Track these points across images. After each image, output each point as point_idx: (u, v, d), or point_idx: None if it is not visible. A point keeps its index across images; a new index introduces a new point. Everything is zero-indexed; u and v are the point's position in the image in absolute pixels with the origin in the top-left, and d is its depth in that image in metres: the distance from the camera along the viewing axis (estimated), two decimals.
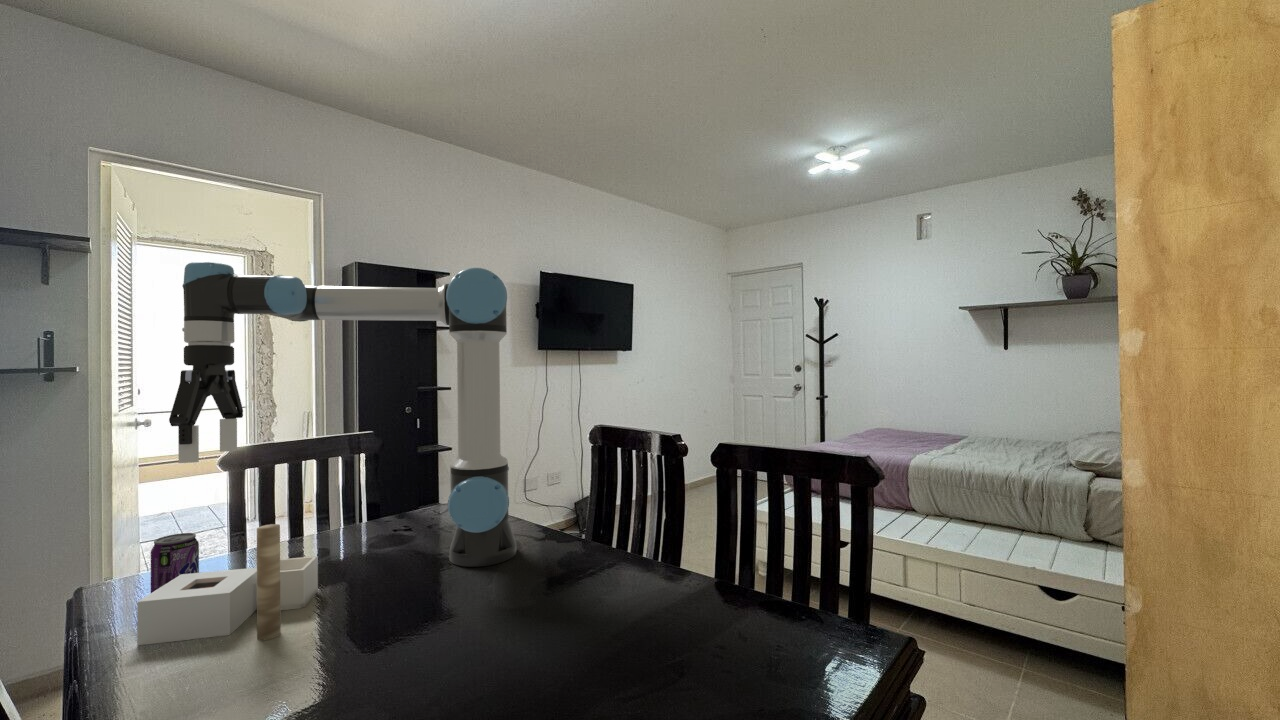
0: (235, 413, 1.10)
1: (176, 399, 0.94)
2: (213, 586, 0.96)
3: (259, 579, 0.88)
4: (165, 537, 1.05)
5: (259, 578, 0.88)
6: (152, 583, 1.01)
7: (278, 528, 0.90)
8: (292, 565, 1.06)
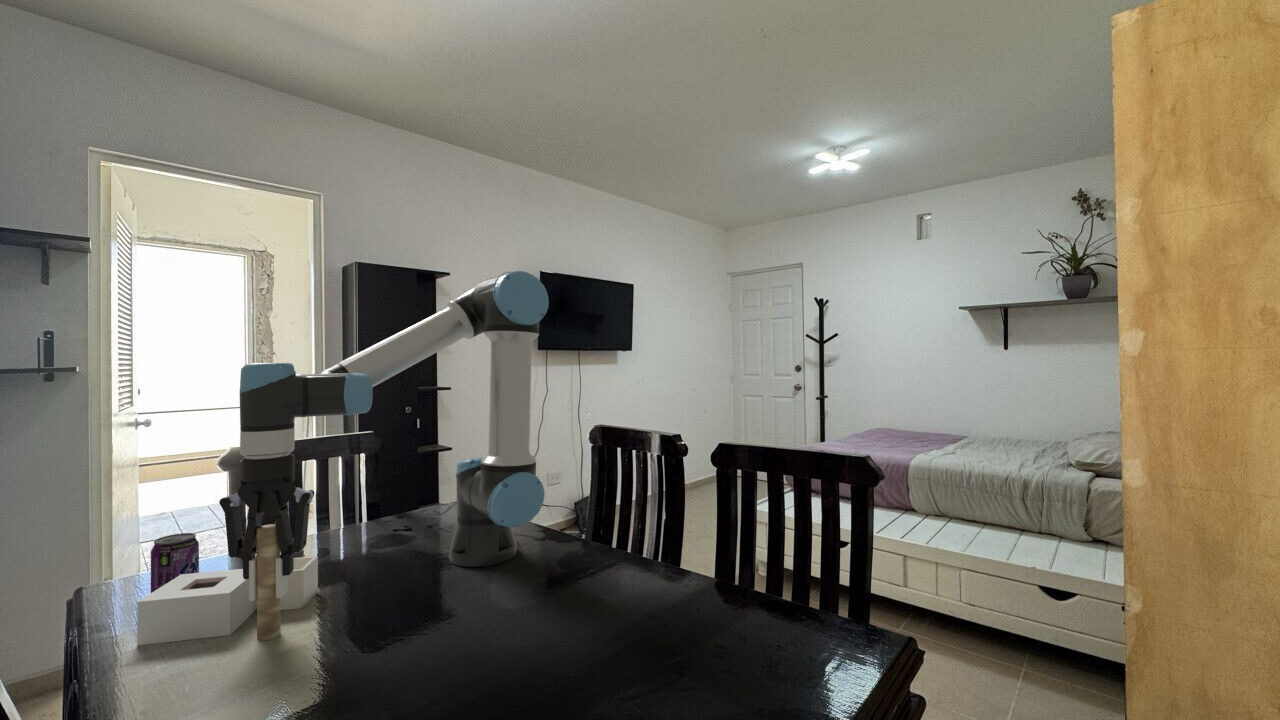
0: (281, 549, 0.89)
1: None
2: (213, 586, 0.96)
3: (259, 579, 0.88)
4: (165, 537, 1.05)
5: (259, 578, 0.88)
6: (152, 583, 1.01)
7: None
8: None
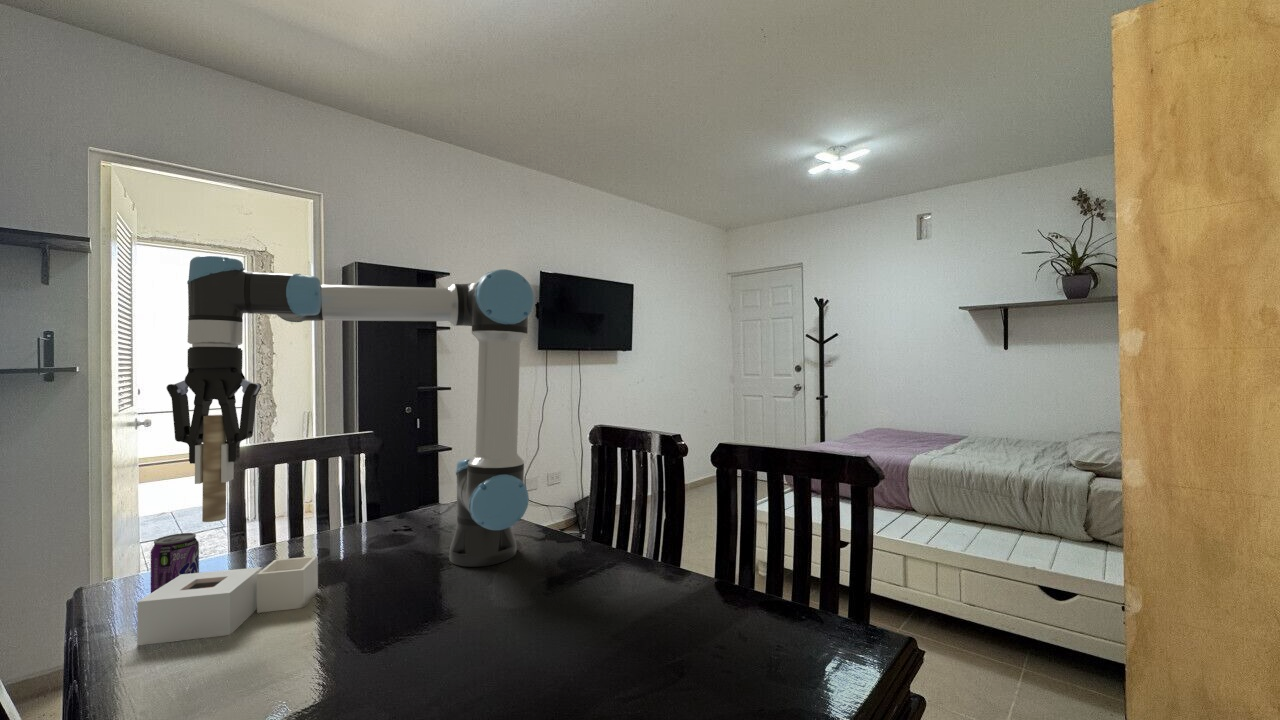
0: (227, 436, 0.93)
1: None
2: (213, 586, 0.96)
3: (205, 463, 0.92)
4: (165, 537, 1.05)
5: (205, 462, 0.92)
6: (152, 583, 1.01)
7: None
8: (292, 565, 1.06)
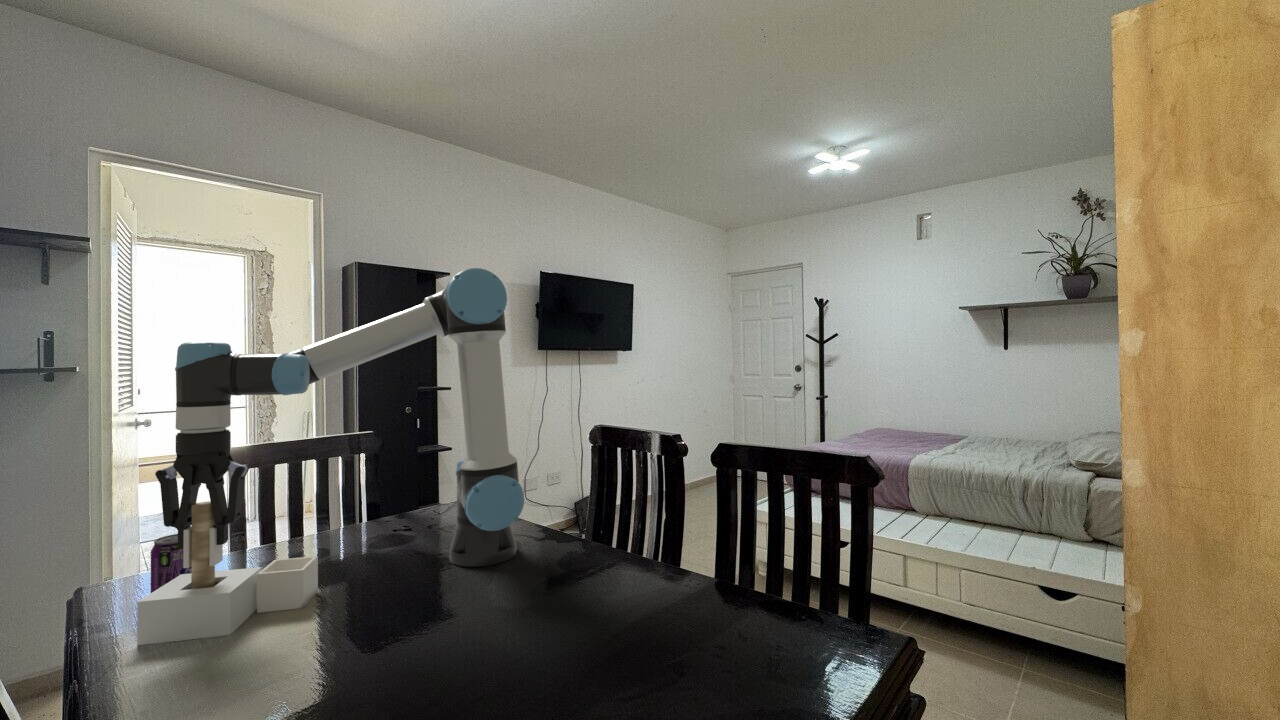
0: (215, 519, 0.94)
1: None
2: None
3: (193, 553, 0.93)
4: (165, 537, 1.05)
5: (193, 551, 0.93)
6: (152, 583, 1.01)
7: None
8: (292, 565, 1.06)
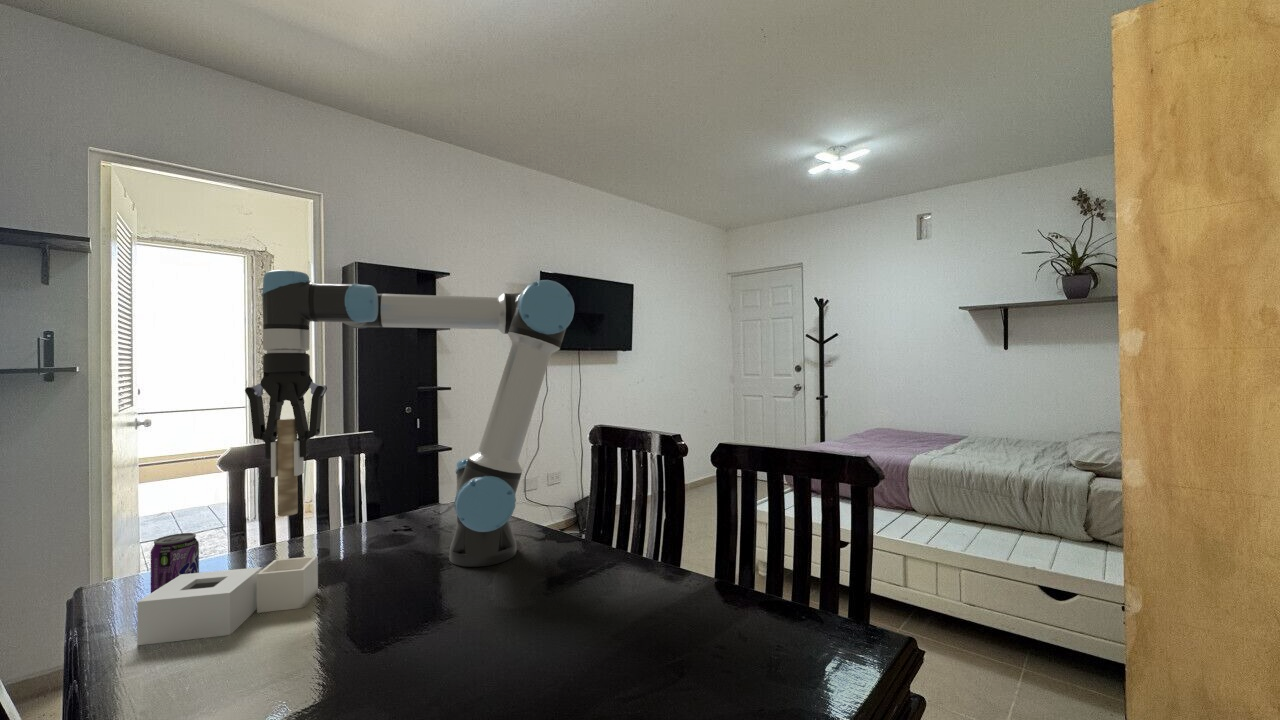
0: (299, 433, 1.03)
1: None
2: None
3: (279, 463, 1.02)
4: (165, 537, 1.05)
5: (280, 462, 1.01)
6: (152, 583, 1.01)
7: None
8: (292, 565, 1.06)
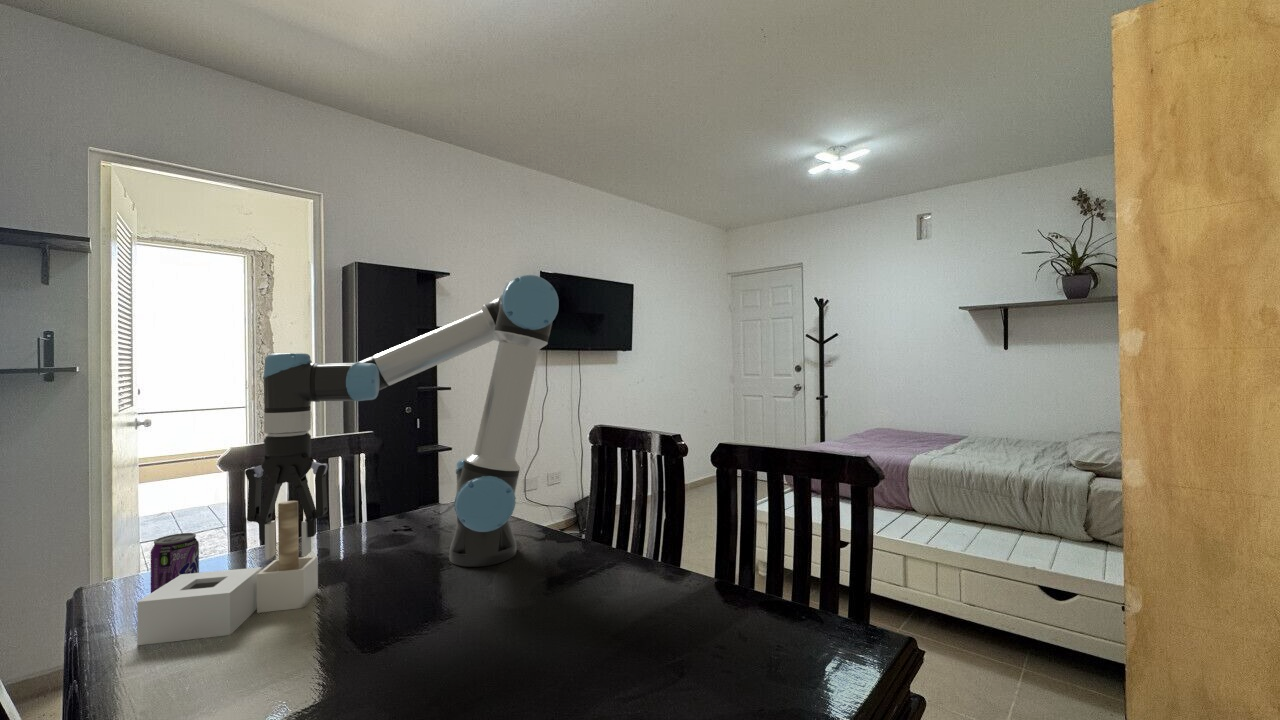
0: (306, 514, 1.03)
1: None
2: None
3: (280, 548, 1.01)
4: (165, 537, 1.05)
5: (281, 547, 1.01)
6: (152, 583, 1.01)
7: (297, 504, 1.03)
8: None
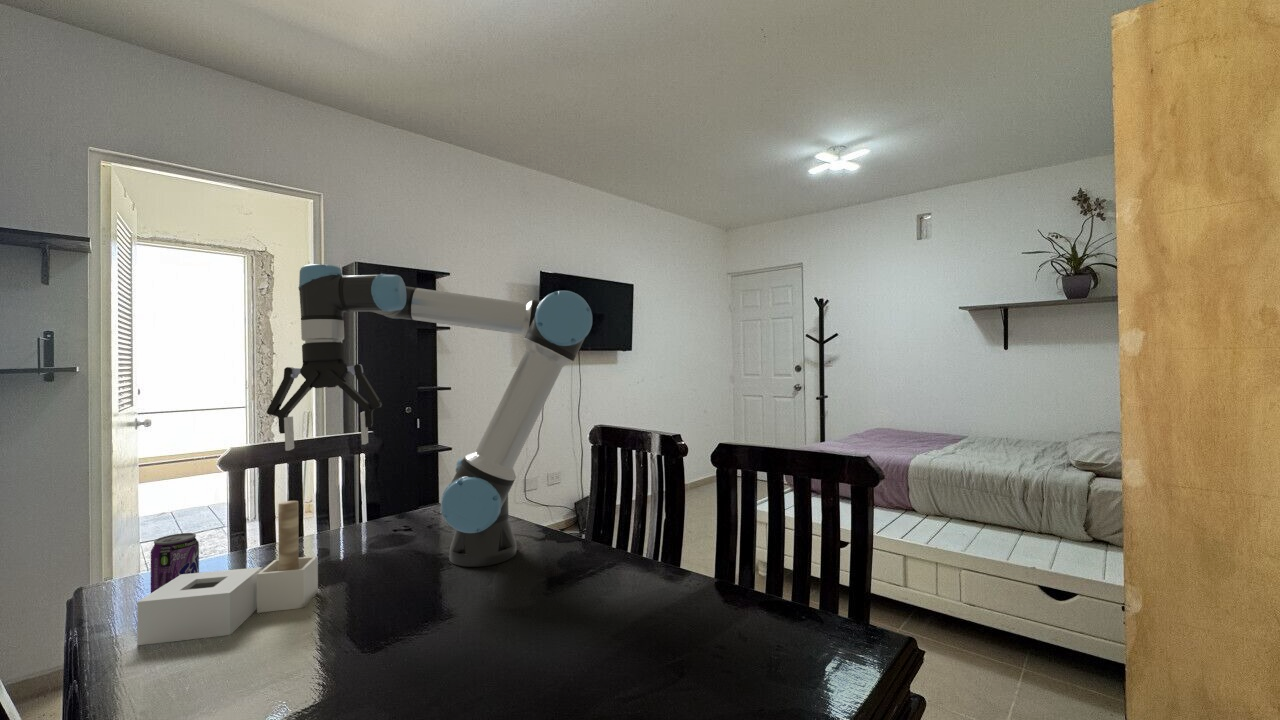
0: (363, 407, 1.10)
1: None
2: None
3: (280, 548, 1.01)
4: (165, 537, 1.05)
5: (281, 547, 1.01)
6: (152, 583, 1.01)
7: (297, 504, 1.03)
8: None
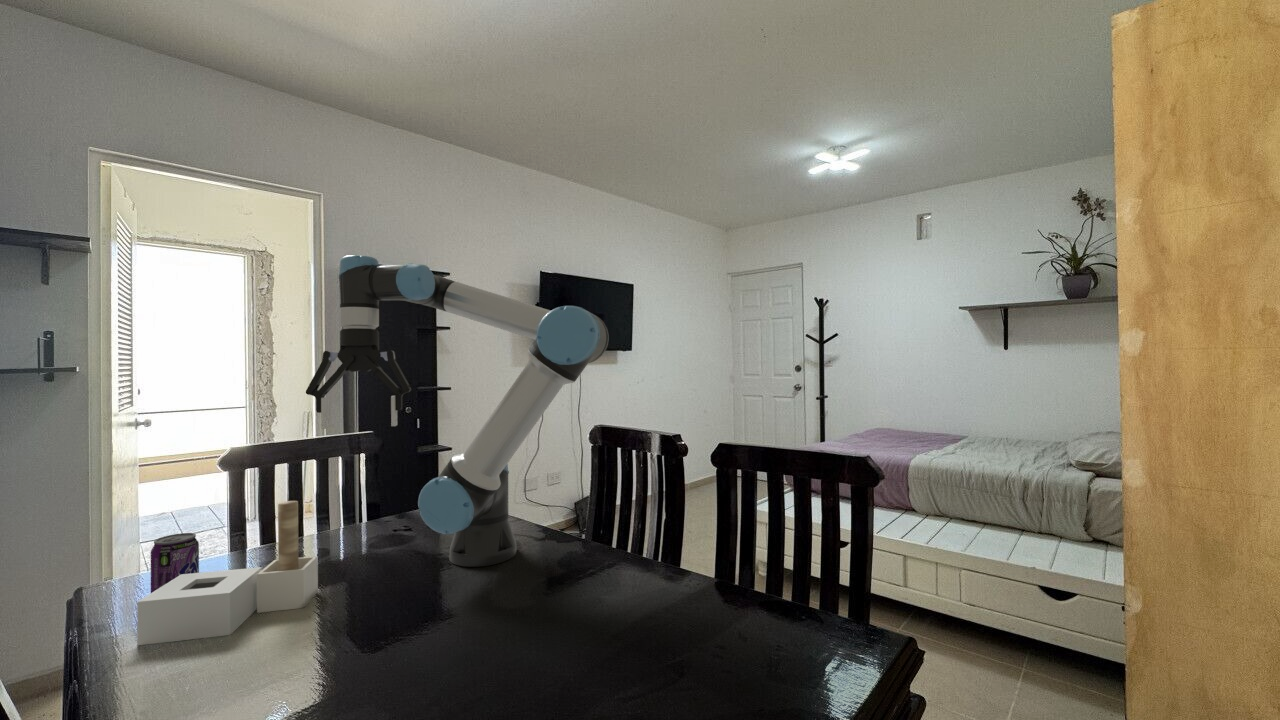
0: (393, 391, 1.17)
1: None
2: None
3: (280, 548, 1.01)
4: (165, 537, 1.05)
5: (281, 547, 1.01)
6: (152, 583, 1.01)
7: (296, 504, 1.03)
8: None
